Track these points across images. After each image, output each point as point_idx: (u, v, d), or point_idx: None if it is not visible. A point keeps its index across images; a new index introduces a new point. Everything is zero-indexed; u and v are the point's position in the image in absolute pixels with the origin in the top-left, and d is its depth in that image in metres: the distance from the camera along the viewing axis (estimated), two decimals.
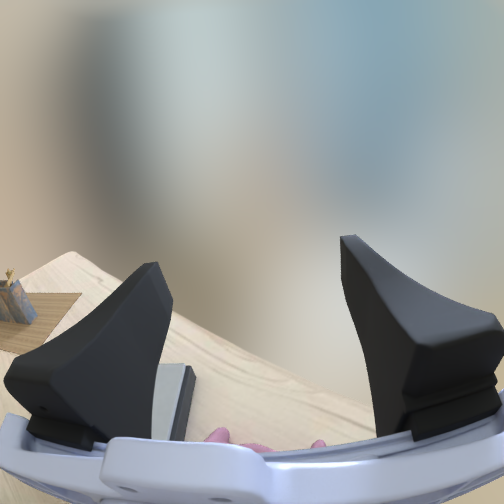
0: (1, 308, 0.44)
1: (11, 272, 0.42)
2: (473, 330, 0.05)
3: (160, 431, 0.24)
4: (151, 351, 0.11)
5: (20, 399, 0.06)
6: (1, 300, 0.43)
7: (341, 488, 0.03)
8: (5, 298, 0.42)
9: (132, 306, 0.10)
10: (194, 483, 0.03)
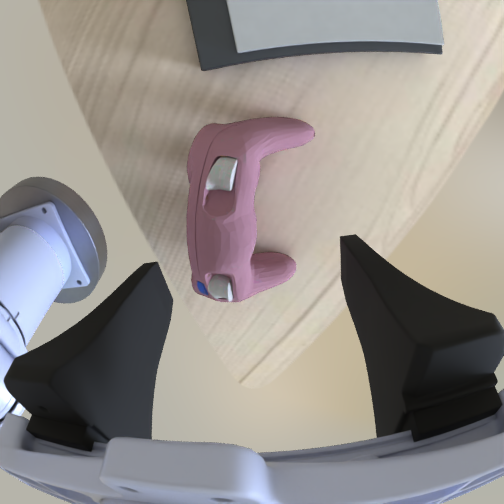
0: None
1: None
2: (473, 330, 0.05)
3: (272, 31, 0.11)
4: (151, 351, 0.11)
5: (20, 399, 0.06)
6: None
7: (341, 488, 0.03)
8: None
9: (132, 306, 0.10)
10: (194, 483, 0.03)
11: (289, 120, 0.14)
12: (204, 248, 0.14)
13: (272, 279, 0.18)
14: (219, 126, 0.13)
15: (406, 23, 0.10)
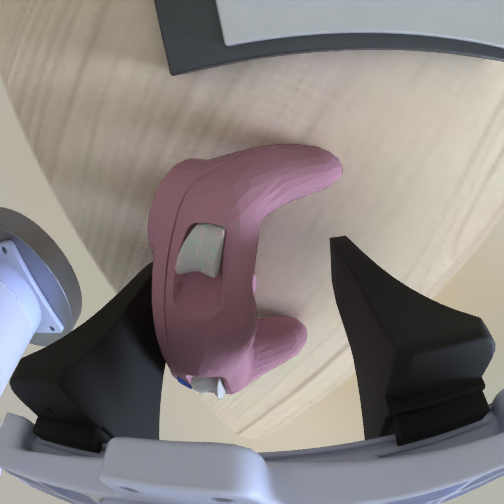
0: None
1: None
2: (457, 335, 0.05)
3: (282, 11, 0.07)
4: (158, 351, 0.11)
5: (26, 400, 0.06)
6: None
7: (341, 488, 0.03)
8: None
9: (139, 305, 0.10)
10: (194, 483, 0.03)
11: (306, 151, 0.10)
12: (181, 351, 0.09)
13: (277, 358, 0.13)
14: (197, 167, 0.08)
15: (477, 15, 0.06)
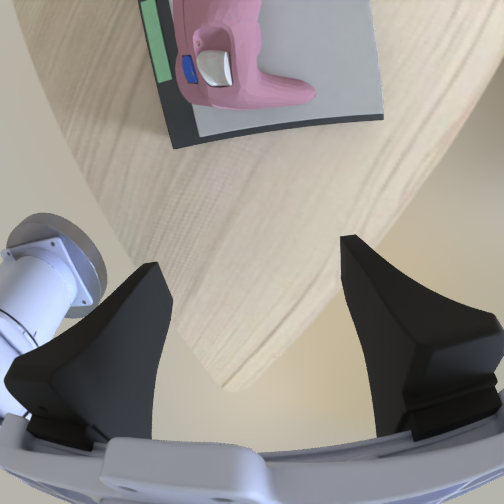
0: None
1: None
2: (473, 331, 0.05)
3: (227, 118, 0.16)
4: (151, 351, 0.11)
5: (20, 399, 0.06)
6: None
7: (341, 488, 0.03)
8: None
9: (132, 306, 0.10)
10: (194, 483, 0.03)
11: None
12: None
13: (286, 86, 0.12)
14: None
15: (346, 98, 0.15)
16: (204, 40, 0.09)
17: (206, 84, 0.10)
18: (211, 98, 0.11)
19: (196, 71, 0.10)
